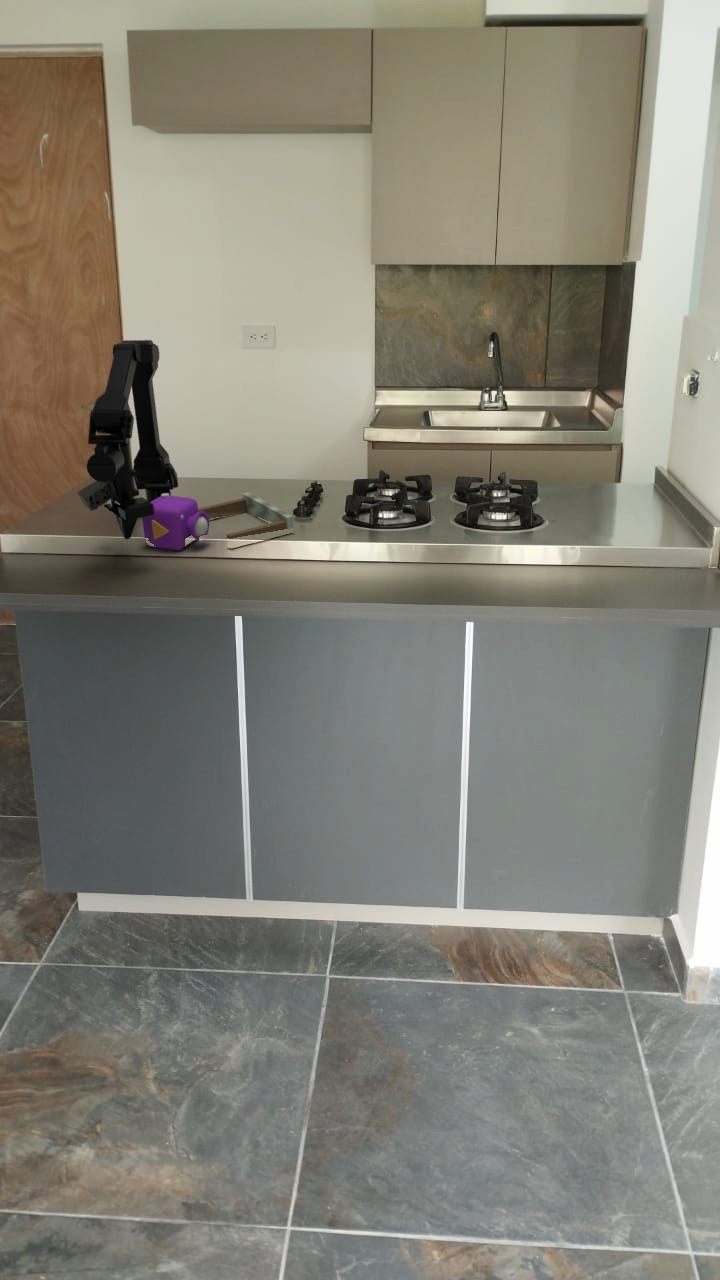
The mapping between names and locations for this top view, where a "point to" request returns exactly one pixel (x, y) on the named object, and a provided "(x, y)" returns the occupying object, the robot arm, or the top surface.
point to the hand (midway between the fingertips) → (127, 538)
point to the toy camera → (174, 522)
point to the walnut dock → (255, 508)
